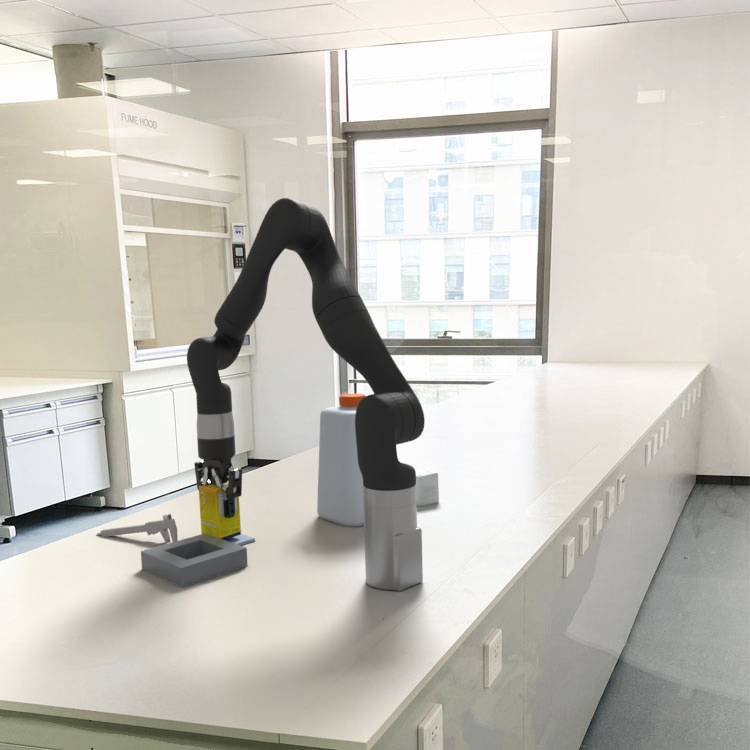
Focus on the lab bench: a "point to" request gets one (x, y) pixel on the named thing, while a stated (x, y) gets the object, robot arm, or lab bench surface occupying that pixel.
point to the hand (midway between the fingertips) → (220, 514)
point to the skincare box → (426, 487)
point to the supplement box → (217, 513)
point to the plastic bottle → (340, 465)
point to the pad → (241, 539)
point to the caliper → (148, 529)
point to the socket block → (193, 559)
